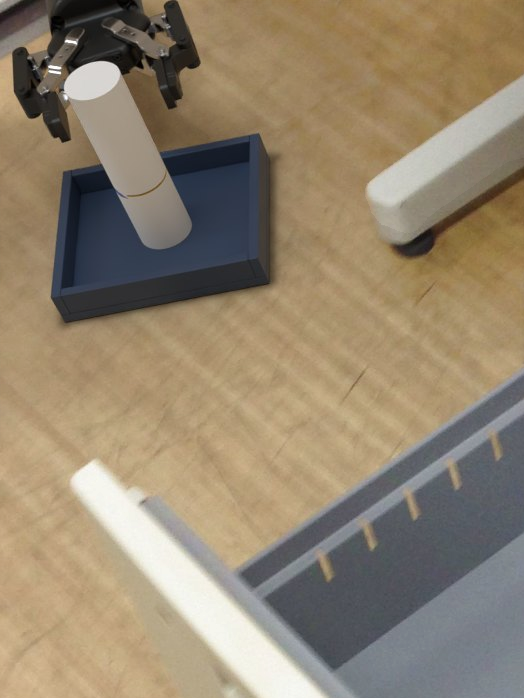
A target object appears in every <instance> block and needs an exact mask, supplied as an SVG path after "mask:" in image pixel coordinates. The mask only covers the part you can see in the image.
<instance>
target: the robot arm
mask: <svg viewBox="0 0 524 698" xmlns="http://www.w3.org/2000/svg"><path fill="white" fill-rule="evenodd" d="M44 1H45V7H46V13H47V19H48V25H49V32H50V37H51V38H50V41H49V43H48V44H47V46H46V49H44V50H40V51H36V52H32V53H29V50H28V49H27V48H26V47H25V46H19V47H16V48H15V49H13V50H12V52H11V59H12V83H13V87H12V88H13V93H14V95H15V97H16V99H17V101H18V102H19V105H20V107H21V108H22V110H23V112H24V114H25V116H26V117H27V119H29V120H34V119H37V118H39V117H40V116H41V115H42V121H43V124H44V125H45V127H46V129H47V130H48V132H49V134H50V136H51V137H52V138H53V139H54V140H55V139H58V138H59V140H60V141H61V143H62V144H64V143H67V142H71V141H72V136H71V130H70V123H69V117H68V112H67V111H66V110H67V109H68V108H69V106H70V105H71V103H70V101H69V99H68V97H67V95H66V93H65V91H64V84H65V81H66V79H67V78H68V76H69V75H70V74H71V73H72V72H73V71H75V70H76V69H78V68H79V67H81V66H83V65H86V64H88V63H92V62H98V61H106V62H110V63H113V64H115V65H116V66H117V67H118V68H119V70H120V72H121V74H122V76H125V75H128V74H130V73H131V70H134V71H136V72H139V73H141V74H142V75H145V76H147V77H150V78H153V77H154V76H156V81H157V85H158V89H159V92H160V95H161V97H162V99H163V101H164V103H165V105H166V107H167V110H172V109H177V108H178V103H177V101H179V100H182V98H183V95H184V92H183V88H182V83H181V79H180V76H181V71H182V70H184V69H189V70H195V69H197V68H199V67H200V66H201V64H202V61H201V58H200V56H199V55H200V54H199V52H198V49H197V46H196V44H195V41H194V38H193V35H192V32H191V29H190V26H189V24H188V22H187V19H186V17H185V15H184V12H183V10H182V8H181V6H180V3H179V1H178V0H167V1H165V3H164V4H163V10H164V12H161V13H159V14H155V15H153V16H148V15H147V14H145V9H144V5H143V0H44ZM157 34H163V36H164V37H166V38H170V41H171V42H173V43H174V42H175V43H174V44H173V45H171V46H170V47H169V46H168V45H166V44H163V43H160V42H158V41H156V40H155V39H156V35H157ZM47 70H48V71H47ZM46 73H47V74H46ZM57 89H58V93H57V91H56V90H57Z"/></svg>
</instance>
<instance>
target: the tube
mask: <svg viewBox="0 0 524 698" xmlns="http://www.w3.org/2000/svg"><path fill="white" fill-rule="evenodd" d="M123 76H124V75H122V74H121V72H120V70H119V68H118V67H117V66H116V65H115V64H113V63H110V62H106V61H98V62H92V63H88V64H86V65H83V66H81V67H79V68H78V69H76V70H75V71H73V72H72V73H71V74H70V75H69V76H68V78H67V79H66V81H65V84H64V91H65V93H66V95H67V97H68V99H69V101H70V105H71V108H72V109H73V110H74V112H75V115H76V116H77V118H78V121H79V122H80V125H81V127H82V128H83V130H84V132H85V134H86V136H87V138H88V140H89V142H90V144H91V145H92V148H93V150H94V151H95V153H96V155H97V157H98V159H99V161H100V164H102V165H103V167H104V169H105V171H106V173H107V175H108V177H109V179H110V181H111V183H112V185H113V186H114V188H115V190H116V192H117V194H118V196H119V198H120V200H121V202H122V204H123V206H124V208H125V210H126V212H127V214H128V216H129V218H130V220H131V222H132V224H133V225H134V227H135V229H136V231H137V233H138V235H139V237H140V239H141V241H142V243H143V244H144V245H145V246H147V247H149V248H151V249H166V248H170V247H173V246H175V245H177V244H179V243H180V242H182V241H183V240H184V239H185V238H186V237H187V236H188V234H189V233H190V231H191V228H192V222H191V219H190V217H189V215H188V213H187V211H186V209H185V206H184V204H183V202H182V200H181V198H180V196H179V194H178V192H177V190H176V188H175V186H174V183H173V181H172V179H171V177H170V175H169V173H168V171H167V169H166V167H165V165H164V163H163V160H162V158H161V156H160V154H159V153H160V151H159V150H158V148H157V145H156V143H155V142H154V140H153V137H152V135H151V133H150V131H149V129H148V127H147V125H146V123H145V120H144V119H143V116H142V114H141V112H140V109H139V108H138V106H137V103H136V102H135V100H134V98H133V95H132V94H131V91H130V89H129V87H128V85H127V82H126V81H125V78H124V77H123Z"/></svg>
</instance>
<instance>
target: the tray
mask: <svg viewBox="0 0 524 698" xmlns="http://www.w3.org/2000/svg"><path fill="white" fill-rule="evenodd" d="M159 154H160V156H161V158H162V160H163V163H164V165H165V167H166V169H167V171H168V173H169V175H170V177H171V179H172V181H173V183H174V186H175V188H176V190H177V192H178V194H179V196H180V198H181V200H182V202H183V204H184V206H185V209H186V211H187V213H188V215H189V217H190V219H191V222H192V228H191V231H190V233H189V234H188V236H187V237H186V238H185V239H184V240H183V241H182V242H180V243H179V244H177V245H175V246H173V247H170V248H166V249H151V248H149V247H147V246H145V245H144V244H143V243H142V241H141V239H140V237H139V235H138V233H137V231H136V229H135V227H134V225H133V224H132V222H131V220H130V218H129V216H128V214H127V212H126V210H125V208H124V206H123V204H122V202H121V200H120V198H119V196H118V194H117V192H116V190H115V188H114V186H113V185H112V183H111V181H110V179H109V177H108V175H107V173H106V171H105V169H104V167H103V165H102V163H100V164H95V165H89V166H84V167H79V168H75V169H69V170H64V171H62V177H61V178H62V179H61V189H60V197H59V208H58V210H59V211H58V217H57V226H56V227H57V229H56V230H57V231H56V238H55V239H56V240H55V247H54V259H53V269H52V279H51V288H50V300H51V301H52V303H53V305H54V306H55V308H56V310H57V311H58V313H59V315H60V317H61V319H62V320H63V322H64V323H69V322H74V321H75V322H76V321H80V320H86V319H90V318H96V317H101V316H105V315H106V316H107V315H112V314H117V313H122V312H127V311H132V310H138V309H143V308H147V307H152V306H158V305H163V304H168V303H173V302H178V301H179V302H180V301H185V300H189V299H194V298H195V299H196V298H201V297H204V296H211V295H215V294H220V293H221V294H222V293H227V292H231V291H236V290H241V289H247V288H251V287H257V286H262V285H267V284H270V196H271V195H270V194H271V193H270V190H271V189H270V184H271V183H270V181H271V179H270V177H271V176H270V174H271V173H270V167H271V166H270V165H271V164H270V162H271V160H270V156H269V154H268V151H267V148H266V146H265V144H264V142H263V138H262V136H261V134H260V132H257V133H251V134H246V135H243V136H236V137H231V138H227V139H222V140H216V141H211V142H207V143H206V142H205V143H201V144H195V145H191V146H186V147H180V148H175V149H169V150H165V151H161V152H160V151H159Z"/></svg>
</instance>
